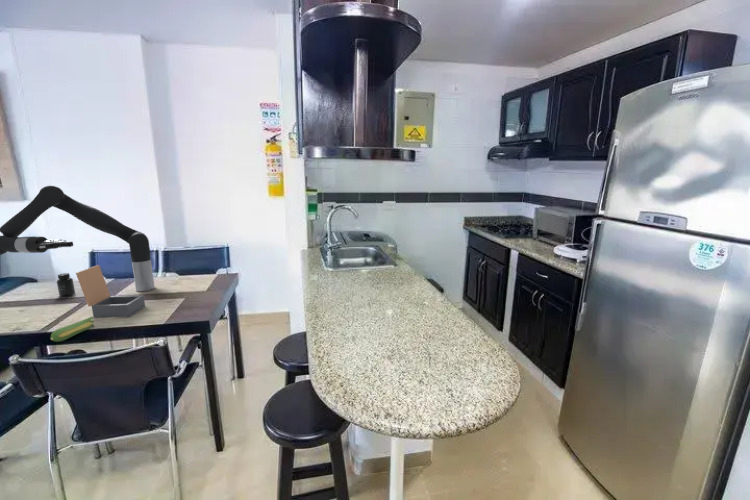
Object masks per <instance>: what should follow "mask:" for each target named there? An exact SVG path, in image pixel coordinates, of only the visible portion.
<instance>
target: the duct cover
mask: <svg viewBox="0 0 750 500" xmlns="http://www.w3.org/2000/svg"><path fill="white" fill-rule="evenodd" d="M75 275H76V278H77V280H78V282H79V286H80V288H81V291H82V293H83V296H84V299H85V301H86V303H87V307H92V305H94V304H96V303H98V302H100V301H102V300H104V299H106V298H108V297H110V296H111V294H110V291H109V288H108V285H107V282H106V280H105V277H104V275H103V272H102V269H101V266H100V264H97V265H94V266H92V267H91V266H90V267H89V268H86V269H84V270H80V271H77V272H75Z"/></svg>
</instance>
